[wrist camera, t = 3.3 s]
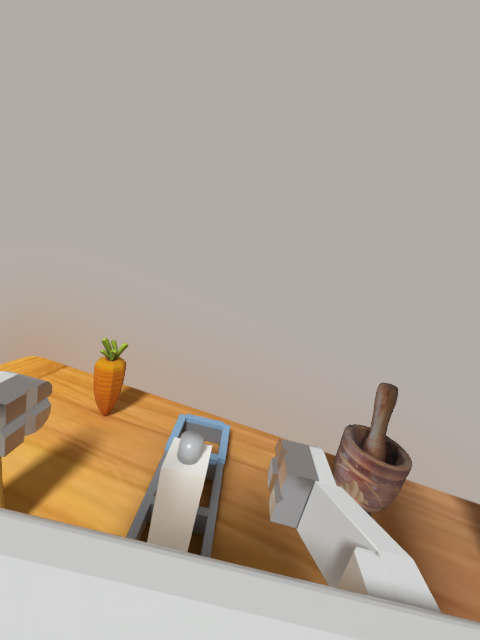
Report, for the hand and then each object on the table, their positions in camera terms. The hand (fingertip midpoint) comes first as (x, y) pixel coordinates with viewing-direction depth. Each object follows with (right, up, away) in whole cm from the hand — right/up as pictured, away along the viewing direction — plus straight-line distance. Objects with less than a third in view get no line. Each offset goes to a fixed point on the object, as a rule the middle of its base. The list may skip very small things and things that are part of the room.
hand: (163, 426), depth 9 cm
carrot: (-22, -14, +39) cm, 46 cm away
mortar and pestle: (+19, -25, +31) cm, 44 cm away
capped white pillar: (-5, -23, +19) cm, 30 cm away
